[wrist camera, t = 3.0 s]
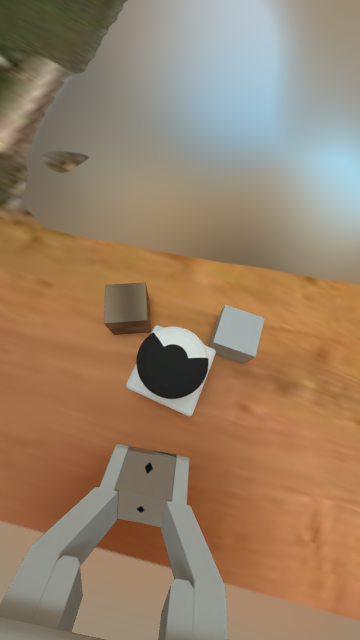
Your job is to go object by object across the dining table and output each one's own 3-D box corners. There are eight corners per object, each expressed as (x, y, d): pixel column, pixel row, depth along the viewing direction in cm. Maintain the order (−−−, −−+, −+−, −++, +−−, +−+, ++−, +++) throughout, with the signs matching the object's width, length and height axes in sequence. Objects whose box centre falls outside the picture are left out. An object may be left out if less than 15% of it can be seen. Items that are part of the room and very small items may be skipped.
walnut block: (114, 334, 31) (104, 323, 27) (114, 301, 33) (104, 285, 28) (150, 332, 32) (147, 320, 27) (149, 299, 33) (145, 282, 29)
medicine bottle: (186, 413, 28) (197, 422, 17) (134, 390, 29) (111, 383, 18) (207, 360, 31) (228, 337, 19) (158, 339, 31) (151, 305, 20)
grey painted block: (206, 350, 31) (213, 342, 26) (217, 318, 33) (225, 304, 28) (242, 363, 31) (255, 356, 26) (250, 330, 32) (264, 318, 28)
